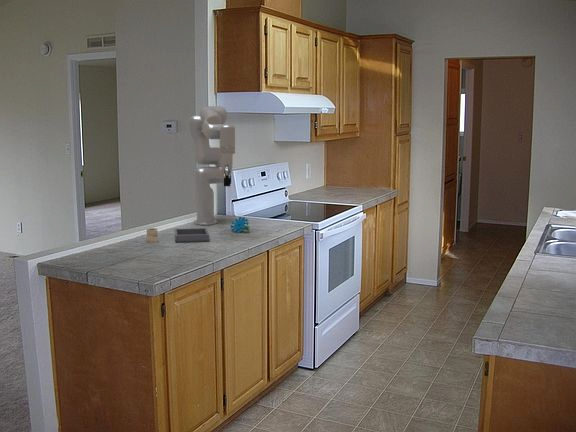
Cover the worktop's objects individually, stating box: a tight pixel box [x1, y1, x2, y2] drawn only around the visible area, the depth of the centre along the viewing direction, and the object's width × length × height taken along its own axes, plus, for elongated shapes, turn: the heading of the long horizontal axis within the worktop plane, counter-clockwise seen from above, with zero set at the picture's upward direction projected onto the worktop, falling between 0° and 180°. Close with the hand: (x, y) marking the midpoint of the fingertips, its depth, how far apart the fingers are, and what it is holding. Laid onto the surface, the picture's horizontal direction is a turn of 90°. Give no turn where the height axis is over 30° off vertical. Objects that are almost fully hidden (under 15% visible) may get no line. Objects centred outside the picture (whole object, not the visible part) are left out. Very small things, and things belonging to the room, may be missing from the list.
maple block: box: [146, 227, 159, 243], centre depth 300 cm, size 5×5×6 cm
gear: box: [229, 216, 250, 234], centre depth 326 cm, size 11×6×10 cm
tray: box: [174, 227, 210, 244], centre depth 307 cm, size 16×16×4 cm
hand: (227, 184), depth 308 cm, fingers open, 9 cm apart
